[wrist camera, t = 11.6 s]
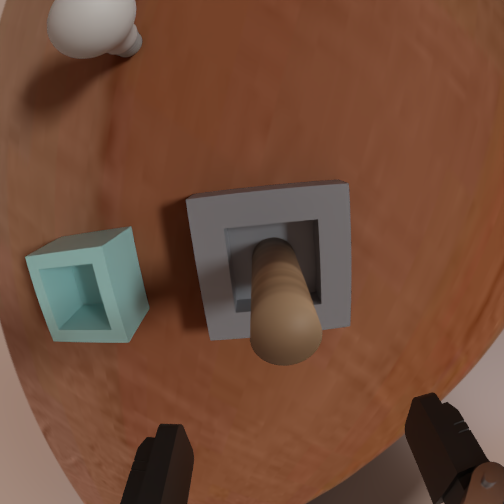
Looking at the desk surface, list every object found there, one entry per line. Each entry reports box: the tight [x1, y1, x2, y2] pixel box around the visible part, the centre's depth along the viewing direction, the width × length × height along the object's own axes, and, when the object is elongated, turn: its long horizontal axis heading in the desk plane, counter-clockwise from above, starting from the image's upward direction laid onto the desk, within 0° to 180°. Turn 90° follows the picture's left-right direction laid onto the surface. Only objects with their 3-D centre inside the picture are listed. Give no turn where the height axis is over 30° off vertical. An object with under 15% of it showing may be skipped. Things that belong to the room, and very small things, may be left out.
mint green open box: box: [25, 226, 149, 343], centre depth 25 cm, size 8×8×6 cm
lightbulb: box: [47, 0, 142, 59], centre depth 17 cm, size 6×6×11 cm
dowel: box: [250, 237, 322, 366], centre depth 21 cm, size 4×4×12 cm
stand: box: [186, 180, 351, 340], centre depth 26 cm, size 12×12×3 cm
